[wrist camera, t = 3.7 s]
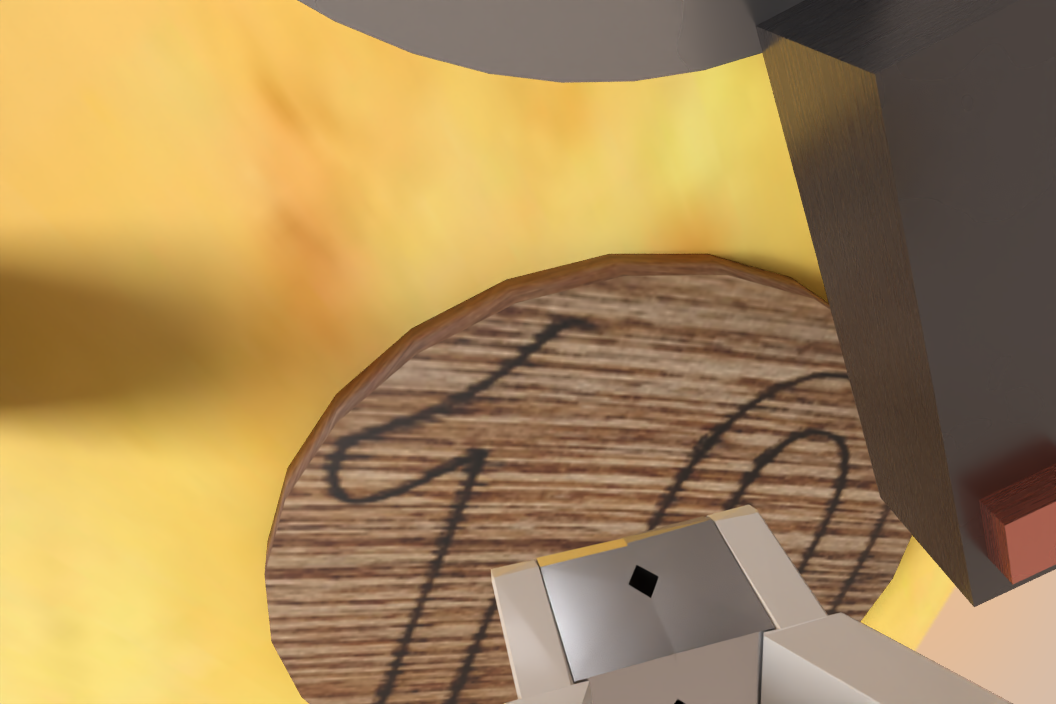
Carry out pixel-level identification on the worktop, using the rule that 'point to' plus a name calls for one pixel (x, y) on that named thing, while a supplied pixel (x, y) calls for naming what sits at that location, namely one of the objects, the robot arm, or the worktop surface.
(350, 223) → the worktop surface
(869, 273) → the lid
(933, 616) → the worktop surface
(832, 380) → the trivet
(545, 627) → the robot arm
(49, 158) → the worktop surface
